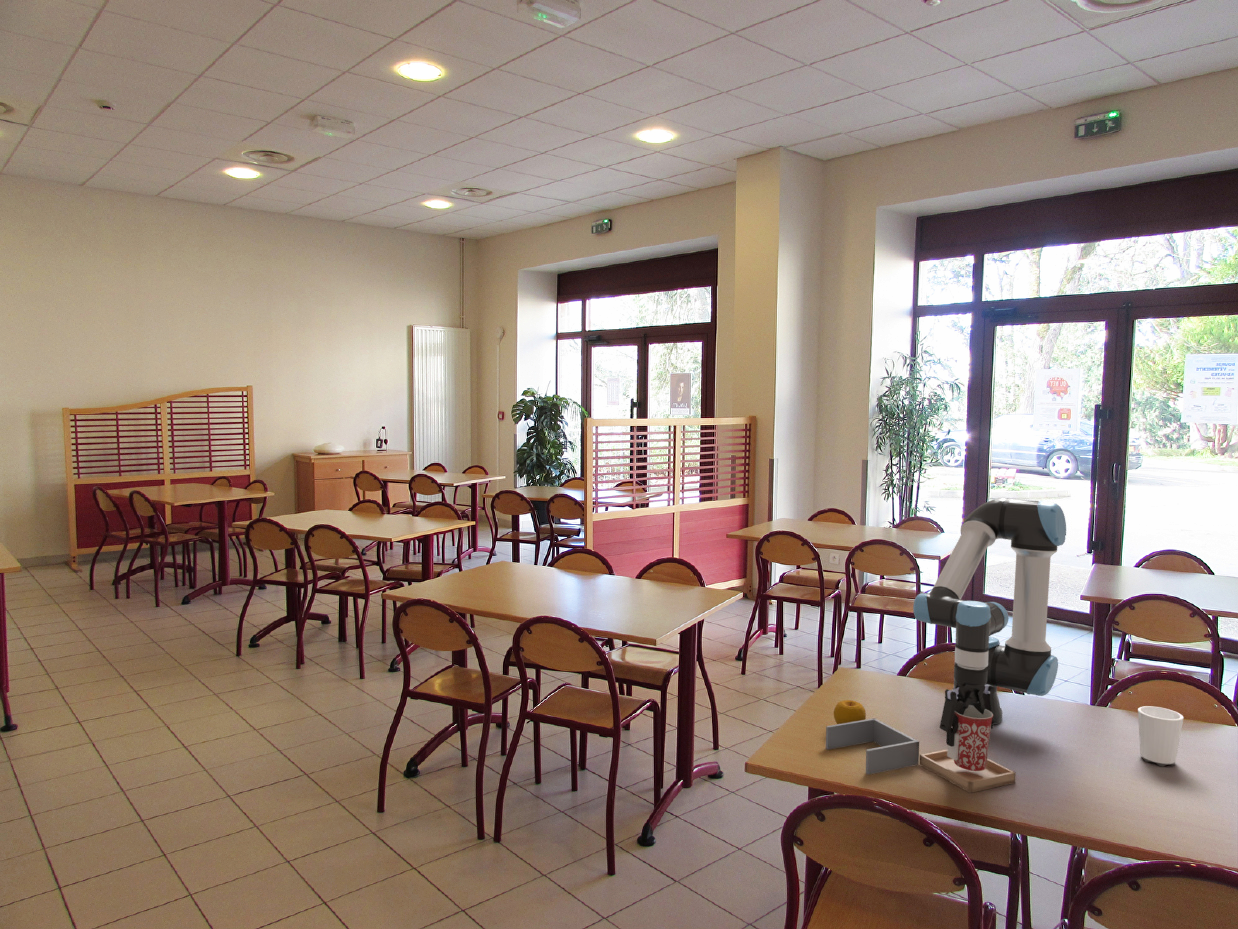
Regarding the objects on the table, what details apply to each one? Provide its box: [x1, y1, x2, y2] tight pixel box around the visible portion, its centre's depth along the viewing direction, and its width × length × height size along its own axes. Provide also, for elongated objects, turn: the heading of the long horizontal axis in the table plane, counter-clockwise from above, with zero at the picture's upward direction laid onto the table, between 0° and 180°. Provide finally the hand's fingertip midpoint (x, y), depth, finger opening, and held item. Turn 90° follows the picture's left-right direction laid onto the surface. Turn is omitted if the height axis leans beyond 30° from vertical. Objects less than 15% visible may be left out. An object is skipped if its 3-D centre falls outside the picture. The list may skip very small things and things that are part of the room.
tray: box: [918, 749, 1017, 794], centre depth 201 cm, size 14×16×2 cm
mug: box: [954, 705, 993, 771], centre depth 200 cm, size 13×9×14 cm
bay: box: [825, 717, 920, 776], centre depth 210 cm, size 16×17×6 cm
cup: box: [1137, 705, 1184, 767], centre depth 209 cm, size 10×10×13 cm
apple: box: [833, 699, 867, 725], centre depth 225 cm, size 8×8×9 cm
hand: (966, 755), depth 201 cm, fingers closed on mug, 9 cm apart
